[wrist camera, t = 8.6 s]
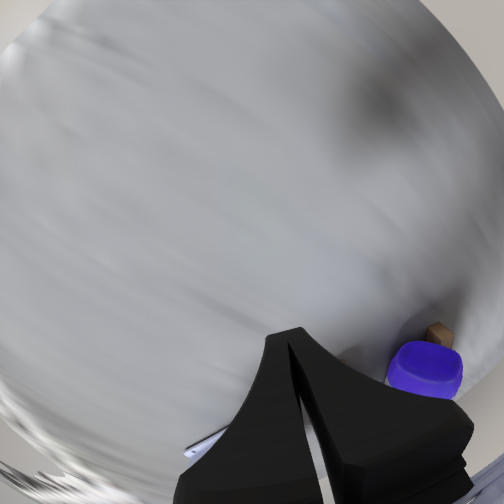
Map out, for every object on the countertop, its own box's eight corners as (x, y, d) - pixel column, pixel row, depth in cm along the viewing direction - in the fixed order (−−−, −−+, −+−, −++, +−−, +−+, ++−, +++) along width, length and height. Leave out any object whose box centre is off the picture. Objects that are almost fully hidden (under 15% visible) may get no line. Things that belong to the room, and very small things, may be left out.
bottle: (463, 392, 14) (402, 483, 21) (472, 348, 18) (420, 448, 24) (382, 367, 19) (352, 463, 25) (404, 329, 23) (373, 431, 29)
